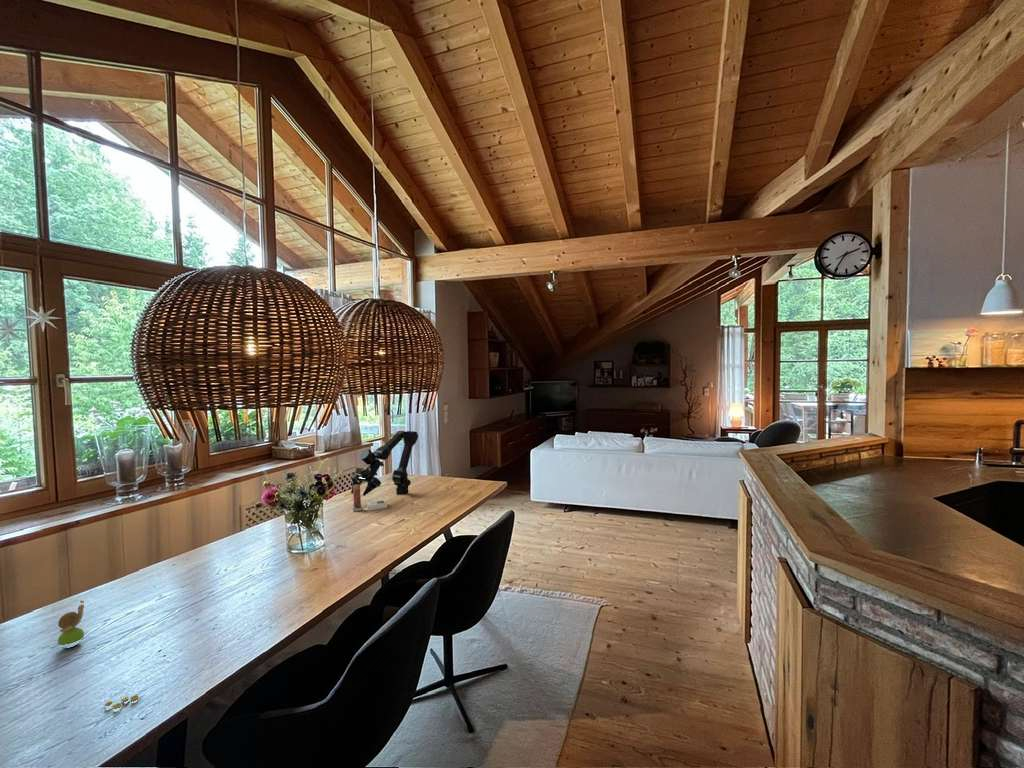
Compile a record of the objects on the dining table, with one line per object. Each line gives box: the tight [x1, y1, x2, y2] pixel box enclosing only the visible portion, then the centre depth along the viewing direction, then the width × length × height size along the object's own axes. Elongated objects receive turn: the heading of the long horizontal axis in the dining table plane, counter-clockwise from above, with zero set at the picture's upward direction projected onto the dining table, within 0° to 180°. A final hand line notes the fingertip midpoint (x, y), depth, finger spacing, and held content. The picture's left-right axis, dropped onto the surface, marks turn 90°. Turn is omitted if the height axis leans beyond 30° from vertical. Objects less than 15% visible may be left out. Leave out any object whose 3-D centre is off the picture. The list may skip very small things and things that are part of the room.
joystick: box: [352, 484, 364, 513], centre depth 239 cm, size 5×5×14 cm
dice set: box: [104, 694, 139, 710], centre depth 107 cm, size 5×5×2 cm
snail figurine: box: [57, 600, 85, 646], centre depth 131 cm, size 5×6×12 cm
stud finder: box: [366, 499, 388, 511], centre depth 243 cm, size 10×6×3 cm, turn 113°
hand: (357, 494), depth 239 cm, fingers open, 9 cm apart
